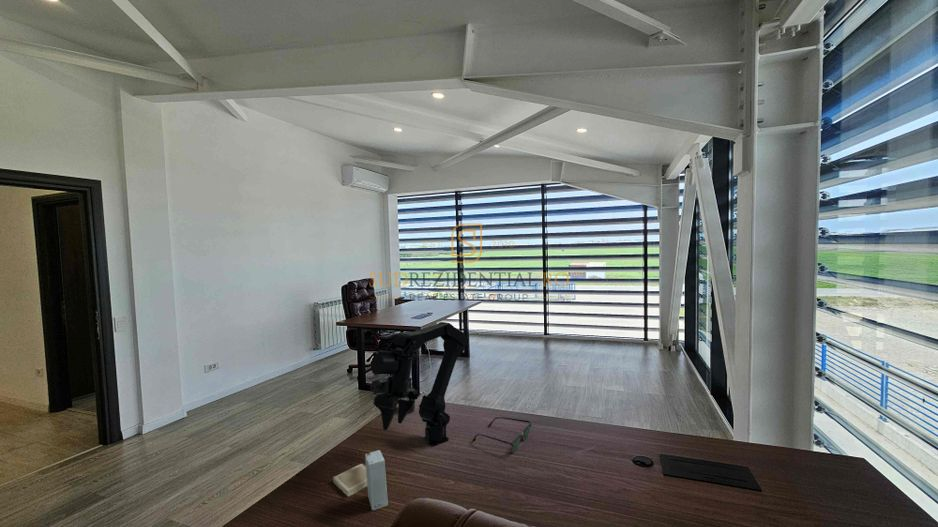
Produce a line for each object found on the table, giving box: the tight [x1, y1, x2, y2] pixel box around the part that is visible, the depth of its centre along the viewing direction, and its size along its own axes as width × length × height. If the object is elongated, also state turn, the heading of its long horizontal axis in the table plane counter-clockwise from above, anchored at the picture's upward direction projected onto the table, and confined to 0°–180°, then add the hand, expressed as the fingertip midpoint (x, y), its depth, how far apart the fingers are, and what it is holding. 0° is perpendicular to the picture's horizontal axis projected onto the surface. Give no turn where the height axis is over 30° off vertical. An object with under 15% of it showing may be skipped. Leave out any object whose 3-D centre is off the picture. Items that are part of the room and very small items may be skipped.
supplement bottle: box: [397, 381, 416, 414], centre depth 149 cm, size 7×7×12 cm
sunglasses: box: [473, 416, 533, 454], centre depth 124 cm, size 16×17×5 cm
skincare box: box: [364, 449, 389, 511], centre depth 95 cm, size 6×4×12 cm
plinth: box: [332, 463, 368, 497], centre depth 103 cm, size 9×9×2 cm
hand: (392, 426), depth 109 cm, fingers open, 9 cm apart
